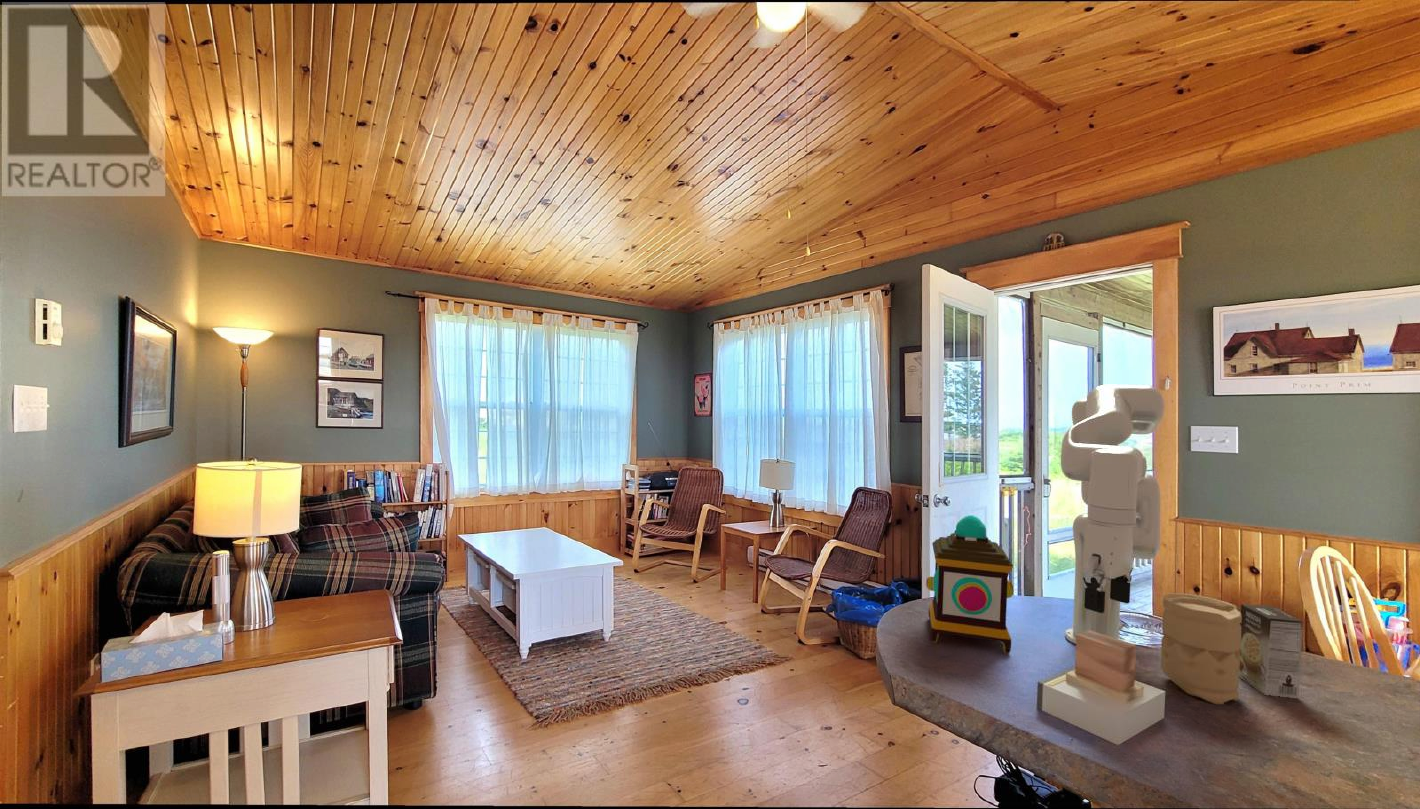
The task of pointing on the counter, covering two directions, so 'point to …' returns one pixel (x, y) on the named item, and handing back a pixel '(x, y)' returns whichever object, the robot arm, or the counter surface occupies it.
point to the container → (1202, 646)
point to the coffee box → (1270, 650)
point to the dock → (1100, 708)
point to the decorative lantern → (970, 585)
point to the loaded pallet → (1105, 667)
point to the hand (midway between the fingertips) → (1107, 605)
